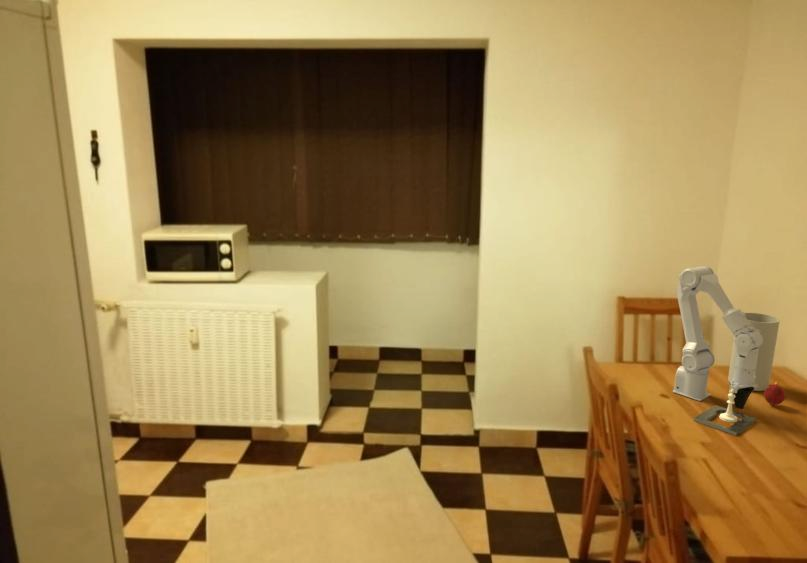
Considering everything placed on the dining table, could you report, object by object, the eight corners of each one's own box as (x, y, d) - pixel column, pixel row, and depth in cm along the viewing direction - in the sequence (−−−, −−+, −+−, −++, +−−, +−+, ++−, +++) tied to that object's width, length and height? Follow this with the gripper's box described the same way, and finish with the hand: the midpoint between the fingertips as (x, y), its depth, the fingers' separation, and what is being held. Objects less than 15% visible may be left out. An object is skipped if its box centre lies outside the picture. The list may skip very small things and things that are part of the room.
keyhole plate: (714, 407, 181) (715, 404, 181) (755, 421, 172) (756, 418, 172) (694, 420, 173) (694, 417, 172) (735, 435, 163) (736, 432, 163)
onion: (786, 410, 180) (790, 387, 178) (766, 408, 181) (770, 385, 179) (778, 402, 185) (782, 380, 184) (759, 400, 187) (763, 378, 185)
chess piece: (715, 415, 176) (720, 385, 174) (730, 414, 177) (735, 385, 174) (725, 422, 171) (730, 392, 169) (741, 422, 172) (745, 392, 170)
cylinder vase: (763, 380, 203) (773, 314, 198) (772, 394, 192) (784, 324, 186) (724, 375, 207) (733, 311, 202) (731, 389, 196) (741, 320, 190)
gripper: (749, 377, 168) (743, 418, 171) (768, 366, 176) (762, 405, 180) (724, 370, 173) (719, 410, 176) (744, 359, 182) (738, 398, 185)
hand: (739, 407), depth 178 cm, fingers closed
